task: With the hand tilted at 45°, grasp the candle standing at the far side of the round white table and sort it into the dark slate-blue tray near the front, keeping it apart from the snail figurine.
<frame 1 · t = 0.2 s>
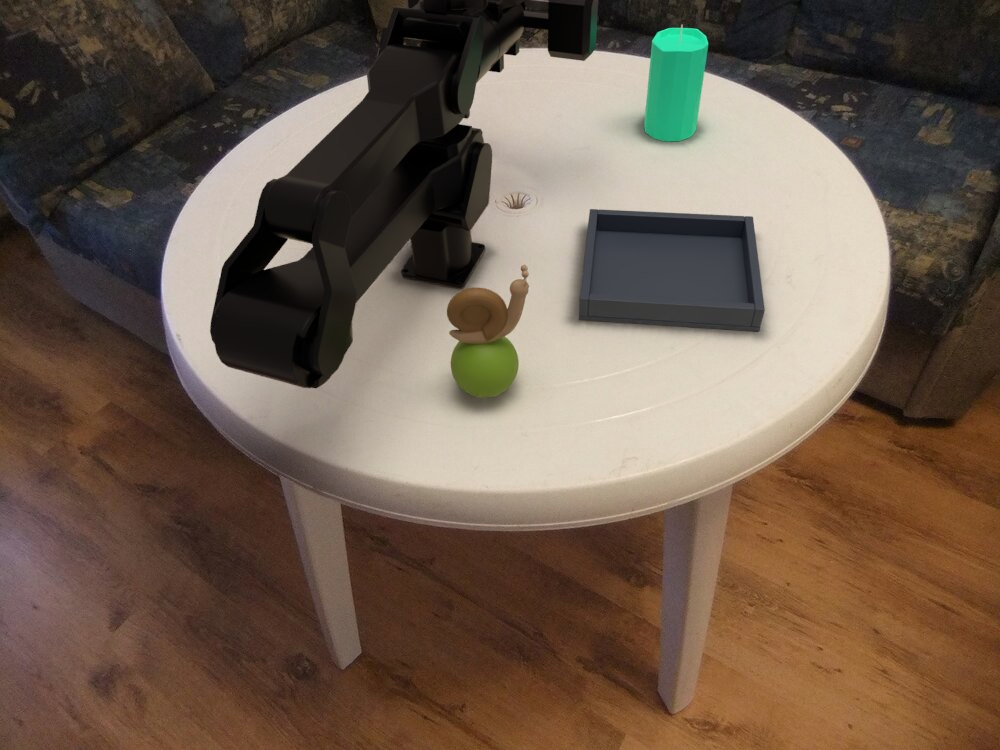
candle: (669, 130, 93), on the table
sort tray: (667, 276, 74), on the table
snail figurine: (492, 387, 66), on the table
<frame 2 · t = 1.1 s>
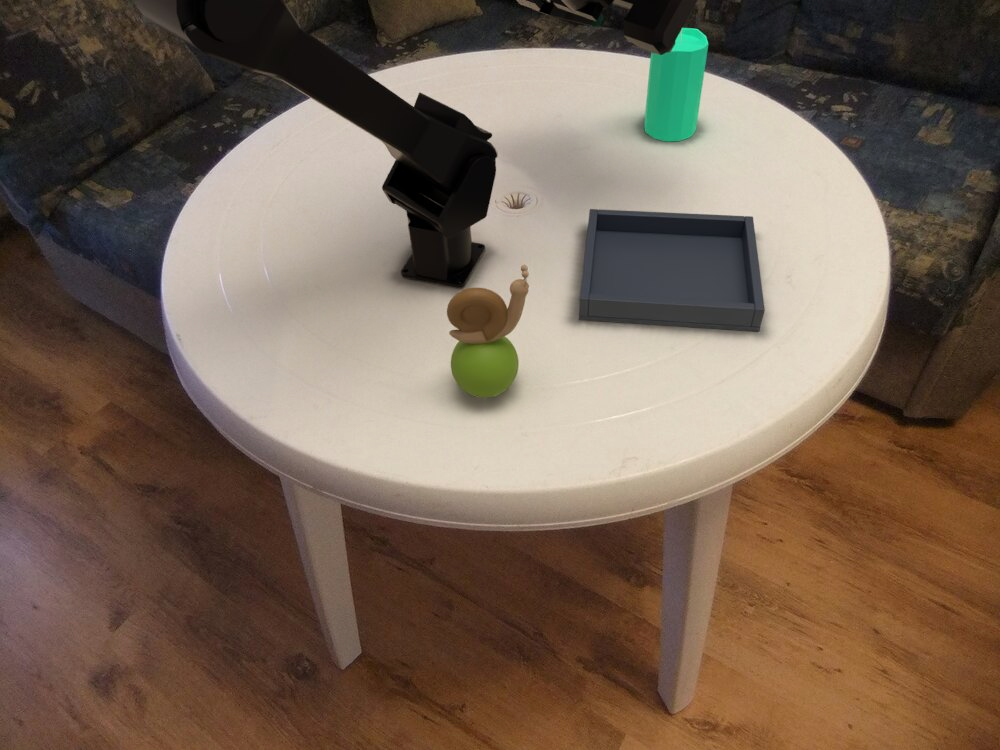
hand: (634, 34, 80), 13 cm above the table, tool tilted 45°, fingers open, 9 cm apart
nothing on the table moved.
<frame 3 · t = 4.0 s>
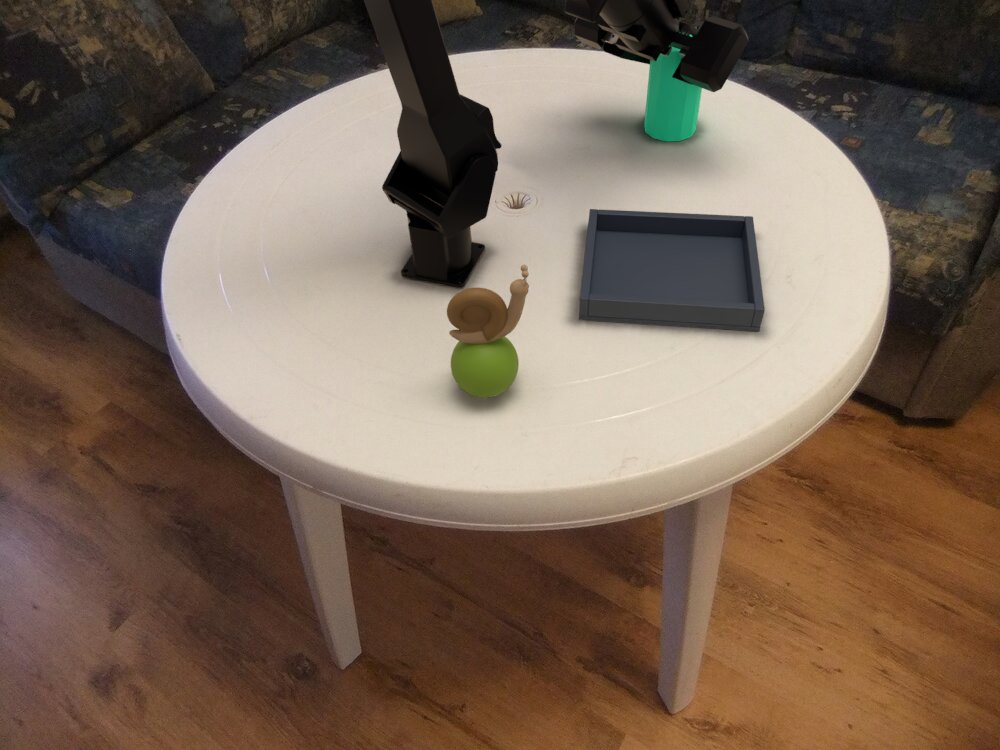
hand: (684, 69, 89), 7 cm above the table, tool tilted 45°, fingers closed on candle, 5 cm apart
candle: (669, 129, 93), on the table, touching gripper
everything else where it was.
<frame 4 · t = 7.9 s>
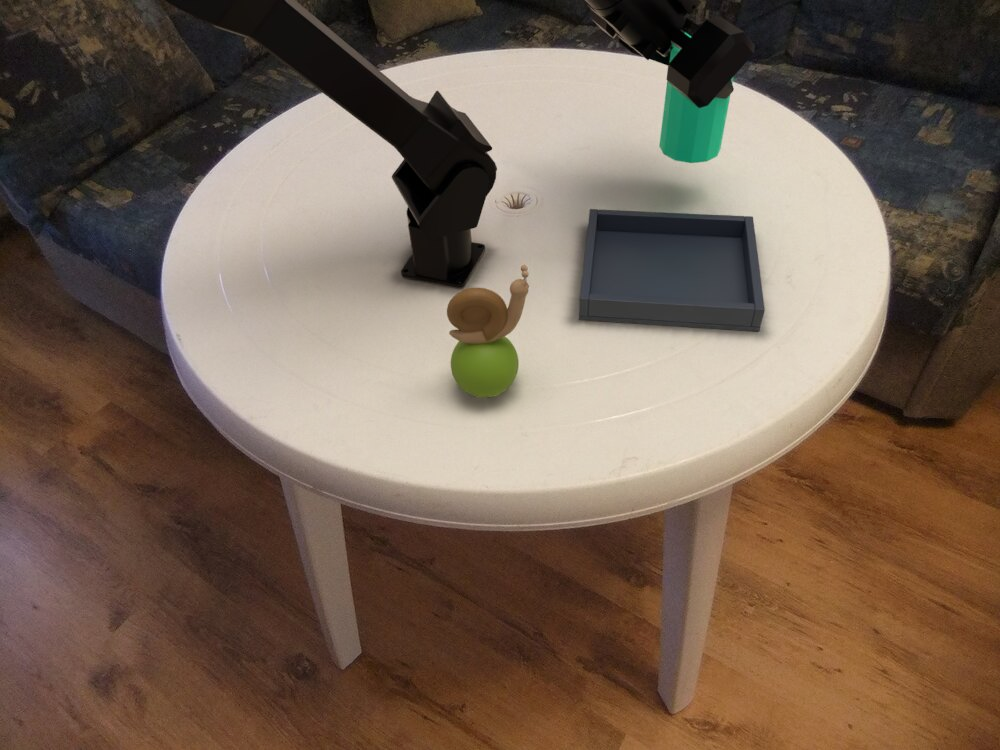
hand: (712, 81, 75), 12 cm above the table, tool tilted 45°, fingers closed on candle, 5 cm apart
candle: (689, 149, 79), point 6 cm above the table, touching gripper
everything else where it was.
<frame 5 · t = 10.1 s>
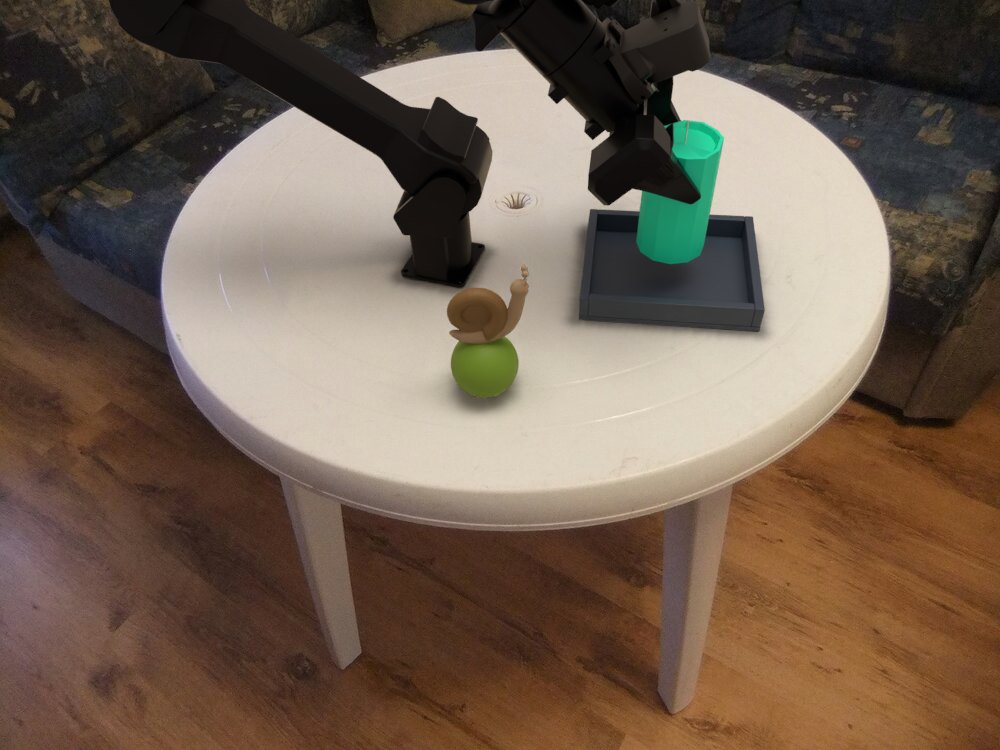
hand: (695, 181, 67), 10 cm above the table, tool tilted 45°, fingers closed on candle, 5 cm apart
candle: (669, 245, 72), point 4 cm above the table, touching gripper
everything else where it was.
when the fingers open (7 cm above the table, at t = 11.6 s): candle stays where it is, resting on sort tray.
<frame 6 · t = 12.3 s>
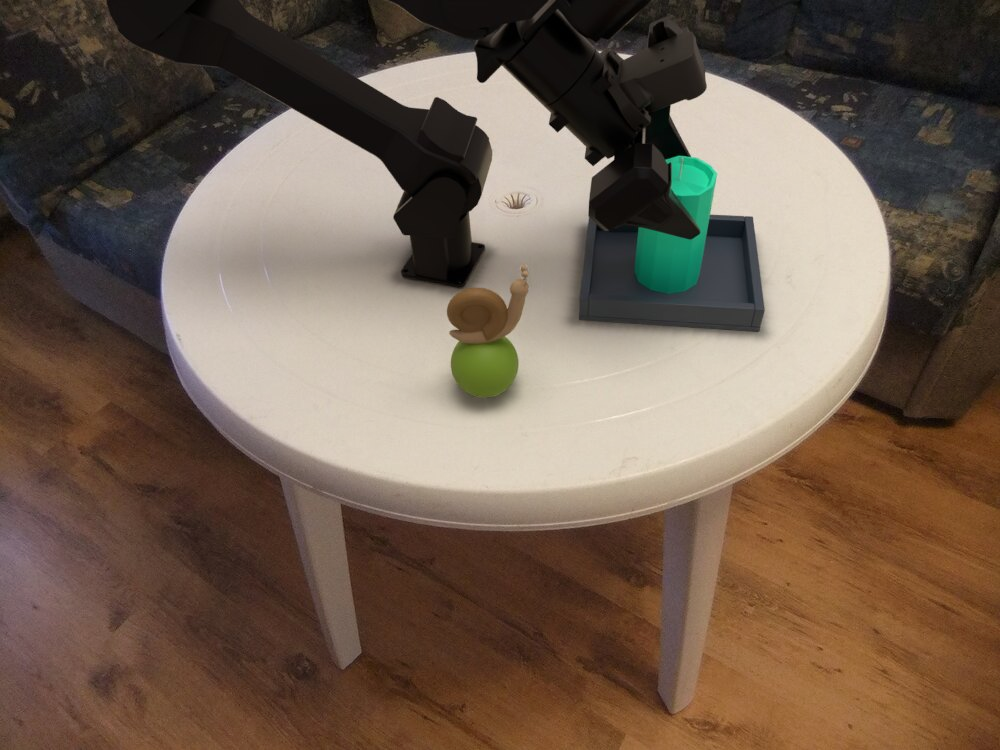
hand: (694, 203, 68), 8 cm above the table, tool tilted 45°, fingers open, 9 cm apart
candle: (666, 274, 74), resting on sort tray
everything else where it was.
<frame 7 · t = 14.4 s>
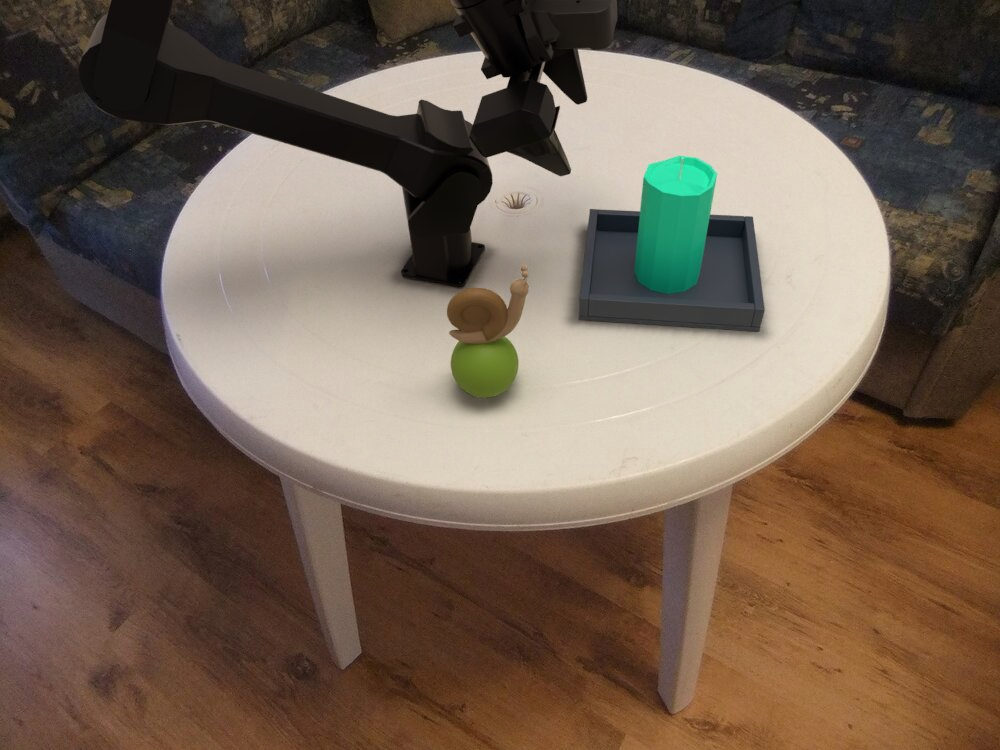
hand: (574, 136, 70), 12 cm above the table, tool tilted 30°, fingers open, 9 cm apart
nothing on the table moved.
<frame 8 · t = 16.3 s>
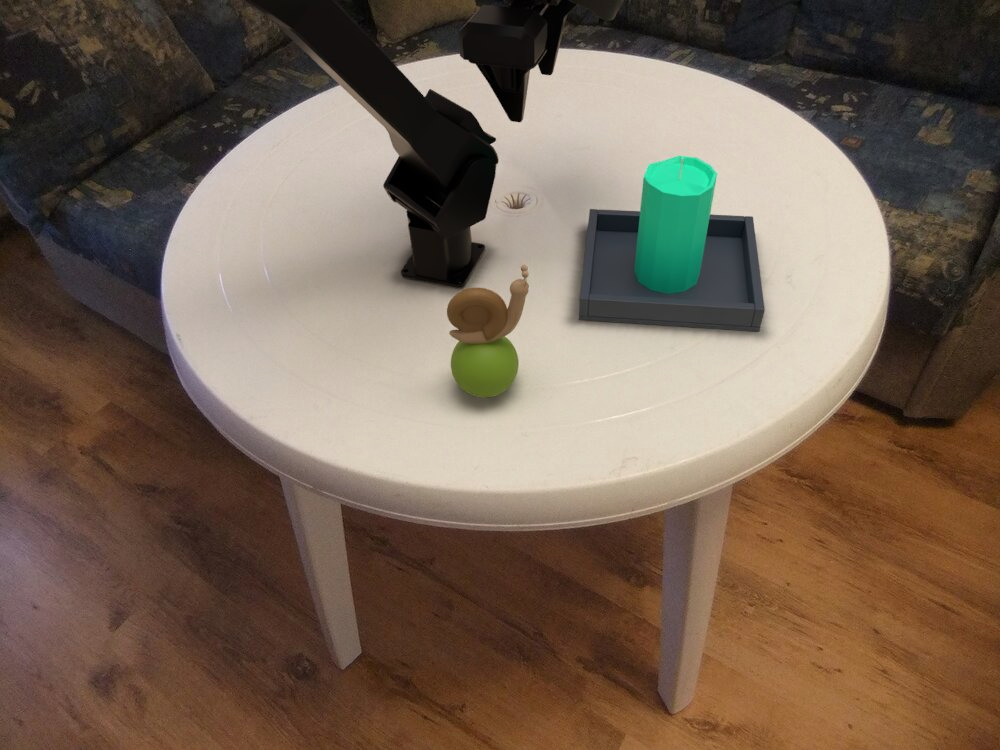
hand: (532, 96, 73), 13 cm above the table, tool pointing down, fingers open, 9 cm apart
nothing on the table moved.
at the end: candle inside the target area in the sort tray (0.1 cm from its centre), point 0.3 cm above the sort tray's base; candle tilted 0°; snail figurine moved 0.2 cm from its start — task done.
